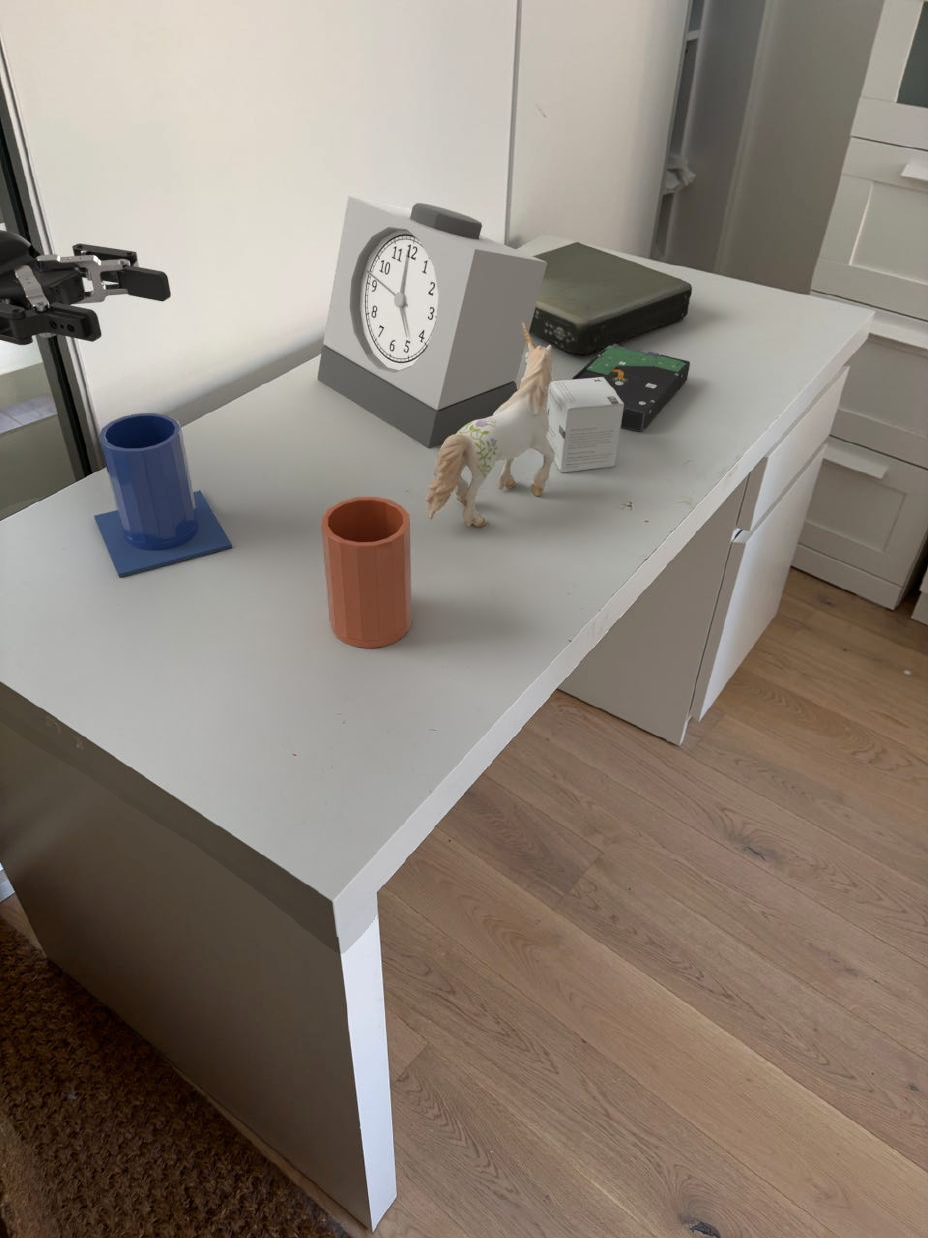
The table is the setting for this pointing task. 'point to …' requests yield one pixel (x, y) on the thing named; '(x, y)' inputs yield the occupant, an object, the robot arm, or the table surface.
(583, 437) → the product carton
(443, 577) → the table surface
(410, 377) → the alarm clock
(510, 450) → the unicorn figurine
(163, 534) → the blue cup
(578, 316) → the network switch
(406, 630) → the terracotta cup
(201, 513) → the blue mat
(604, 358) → the disk drive
